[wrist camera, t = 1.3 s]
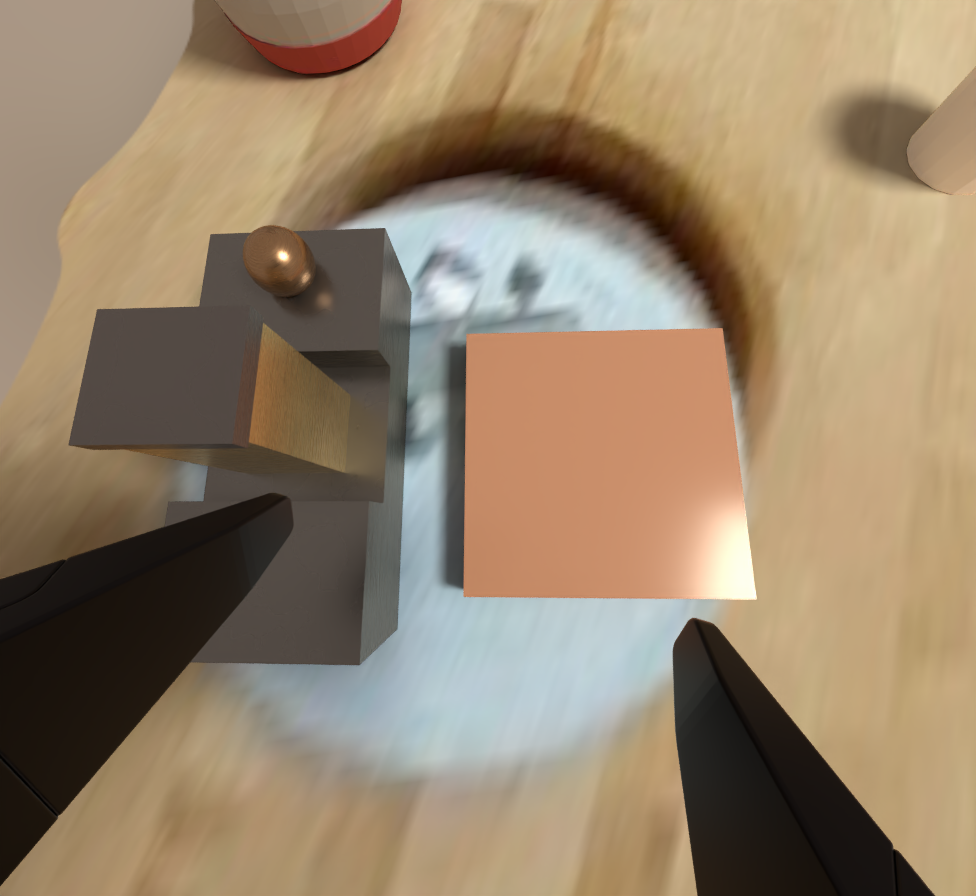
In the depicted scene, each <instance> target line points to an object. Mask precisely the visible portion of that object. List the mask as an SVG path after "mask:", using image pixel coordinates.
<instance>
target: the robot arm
mask: <svg viewBox="0 0 976 896" xmlns="http://www.w3.org/2000/svg"><path fill="white" fill-rule="evenodd" d="M293 526H294V520H293V511H292V502H291V499H290V498H289V497H288V496H285V495H281V494H278V493H268V494H265V495H262V496H259V497H255V498H252V499H249V500H246V501H243V502H240V503H237V504H234V505H231V506H228V507H225V508H221V509H218V510H215V511H212V512H209V513H206V514H203V515H200V516H197V517H194V518H190V519H187V520H184V521H181V522H178V523H175V524H172V525H169V526H166V527H163V528H159V529H156V530H153V531H150V532H147V533H144V534H141V535H138V536H135V537H132V538H128V539H125V540H122V541H119V542H116V543H113V544H110V545H107V546H104V547H101V548H97V549H94V550H91V551H88V552H85V553H82V554H79V555H76V556H73V557H70V558H68V559H67V560H60V561H57V562H54V563H51V564H48V565H45V566H42V567H38V568H35V569H32V570H29V571H26V572H22V573H19V574H16V575H13V576H9V577H6V578H3V579H0V886H1V885H2V884H3V882H4V881H5V880H6V879H7V878H8V877H9V875H10V874H11V873H12V872H13V871H14V869H15V868H16V867H17V866H18V865H19V864H20V862H21V861H22V860H23V859H24V858H25V857H26V855H27V854H28V853H29V852H30V851H31V849H32V848H33V847H34V846H35V845H36V844H37V842H38V841H39V840H40V839H41V838H42V837H43V835H44V834H45V833H46V832H47V831H48V830H49V828H50V827H51V826H52V825H53V824H54V822H55V821H56V820H57V819H58V815H60V814H62V813H63V811H64V810H65V809H66V808H67V807H68V805H69V804H70V803H71V802H72V801H73V800H74V798H75V797H76V796H77V795H78V794H79V793H80V791H81V790H82V789H83V788H84V787H85V785H86V784H87V783H88V782H89V781H90V780H91V778H92V777H93V776H94V775H95V774H96V773H97V771H98V770H99V769H100V768H101V767H102V765H103V764H104V763H105V762H106V761H107V760H108V758H109V757H110V756H111V755H112V754H113V753H114V751H115V750H116V749H117V748H118V747H119V745H120V744H121V743H122V742H123V741H124V740H125V738H126V737H127V736H128V735H129V734H130V733H131V731H132V730H133V729H134V728H135V727H136V725H137V724H138V723H139V722H140V721H141V720H142V718H143V717H144V716H145V715H146V714H147V713H148V711H149V710H150V709H151V708H152V707H153V705H154V704H155V703H156V702H157V701H158V700H159V698H160V697H161V696H162V695H163V694H164V693H165V691H166V690H167V689H168V688H169V687H170V685H171V684H172V683H173V682H174V681H175V680H176V678H177V677H178V676H179V675H180V674H181V673H182V671H183V670H184V669H185V668H186V667H187V665H188V664H189V663H190V662H191V661H192V660H193V658H194V657H195V656H196V655H197V654H198V653H199V651H200V650H201V649H202V648H203V647H204V645H205V644H206V643H207V642H208V641H209V640H210V638H211V637H212V636H213V635H214V634H215V633H216V631H217V630H218V629H219V628H220V627H221V625H222V624H223V623H224V622H225V621H226V620H227V618H228V617H229V616H230V615H231V614H232V613H233V611H234V610H235V609H236V608H237V607H238V606H239V604H240V603H241V602H242V601H243V600H244V598H245V597H246V596H247V595H248V593H249V592H250V591H251V590H252V588H253V587H254V586H255V584H256V583H257V582H258V580H259V579H260V577H261V576H262V575H263V573H264V572H265V570H266V569H267V567H268V566H269V565H270V563H271V562H272V560H273V559H274V557H275V556H276V554H277V553H278V552H279V550H280V549H281V547H282V546H283V544H284V543H285V542H286V540H287V539H288V537H289V536H290V534H291V532H292V530H293ZM673 679H674V711H675V732H676V741H677V749H678V757H679V764H680V771H681V779H682V786H683V793H684V800H685V808H686V815H687V822H688V830H689V837H690V844H691V852H692V859H693V866H694V873H695V881H696V888H697V895H698V896H935V895H934V894H933V893H932V891H931V890H930V889H929V888H928V887H927V885H926V884H925V883H924V882H923V880H922V879H921V878H920V877H919V875H918V874H917V873H916V872H915V871H914V869H913V868H912V867H911V866H910V864H909V863H908V862H907V861H906V859H905V858H904V857H903V856H902V854H901V853H900V852H899V851H898V850H895V849H893V844H892V843H891V841H890V840H889V839H888V837H887V836H886V835H885V834H884V833H883V831H882V830H881V829H880V828H879V826H878V825H877V824H876V823H875V821H874V820H873V819H872V818H871V816H870V815H869V814H868V813H867V812H866V810H865V809H864V808H863V807H862V805H861V804H860V803H859V802H858V800H857V799H856V798H855V797H854V796H853V794H852V793H851V792H850V791H849V789H848V788H847V787H846V786H845V784H844V783H843V782H842V781H841V779H840V778H839V777H838V776H837V775H836V773H835V772H834V771H833V770H832V768H831V767H830V766H829V765H828V763H827V762H826V761H825V760H824V758H823V757H822V756H821V755H820V754H819V752H818V751H817V750H816V749H815V747H814V746H813V745H812V744H811V742H810V741H809V740H808V739H807V737H806V736H805V735H804V734H803V733H802V731H801V730H800V729H799V728H798V726H797V725H796V724H795V723H794V721H793V720H792V719H791V718H790V717H789V715H788V714H787V713H786V712H785V710H784V709H783V708H782V707H781V705H780V704H779V703H778V702H777V700H776V699H775V698H774V697H773V696H772V694H771V693H770V692H769V691H768V689H767V688H766V687H765V686H764V684H763V683H762V682H761V681H760V679H759V678H758V677H757V676H756V675H755V673H754V672H753V671H752V670H751V668H750V667H749V666H748V665H747V663H746V662H745V661H744V660H743V658H742V657H741V656H740V655H739V654H738V652H737V651H736V650H735V649H734V647H733V646H732V645H731V644H730V642H729V641H728V640H727V639H726V638H725V636H724V635H723V634H722V633H721V631H720V630H719V629H718V628H717V627H716V626H715V625H714V624H713V623H710V622H707V621H704V620H700V619H697V618H691V619H690V620H689V621H688V622H687V624H686V625H685V627H684V628H683V630H682V631H681V633H680V635H679V636H678V638H677V639H676V641H675V643H674V647H673Z"/></svg>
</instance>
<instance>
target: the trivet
mask: <svg viewBox="0 0 976 896" xmlns="http://www.w3.org/2000/svg"><path fill="white" fill-rule="evenodd" d="M464 597H539V598H654V599H756V592H755V584H754V576H753V568H752V560H751V552H750V544H749V536H748V528H747V520H746V512H745V505H744V497H743V489H742V481H741V473H740V465H739V457H738V449H737V441H736V433H735V425H734V417H733V409H732V401H731V393H730V385H729V377H728V369H727V361H726V353H725V345H724V337H723V330H722V328H715V329H670V330H626V331H581V332H536V333H492V334H467V344H466V431H465V517H464Z"/></svg>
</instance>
